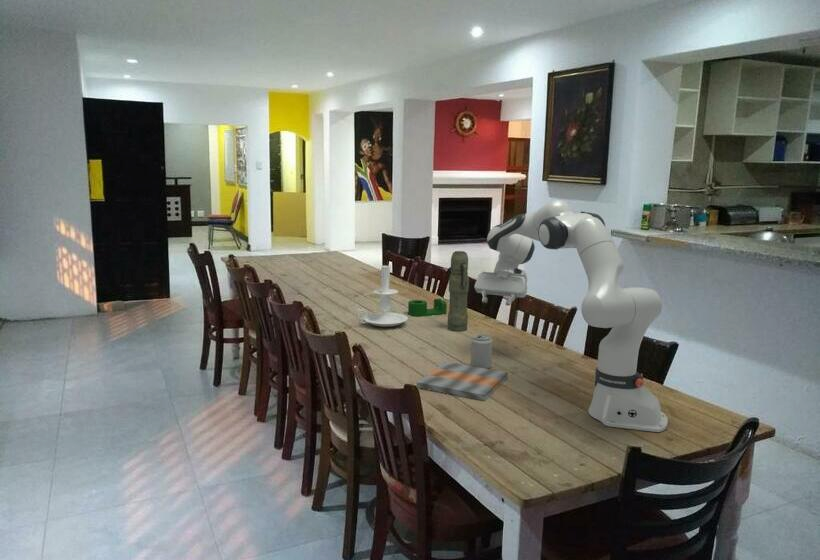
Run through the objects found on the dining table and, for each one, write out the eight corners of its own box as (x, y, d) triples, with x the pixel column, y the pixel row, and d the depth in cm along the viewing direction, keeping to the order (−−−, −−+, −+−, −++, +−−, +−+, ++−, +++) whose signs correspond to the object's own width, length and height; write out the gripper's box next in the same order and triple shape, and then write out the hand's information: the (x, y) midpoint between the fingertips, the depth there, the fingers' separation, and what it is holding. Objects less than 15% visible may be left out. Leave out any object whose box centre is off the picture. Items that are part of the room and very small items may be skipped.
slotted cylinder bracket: (412, 317, 297) (412, 304, 296) (405, 313, 305) (405, 300, 304) (446, 314, 304) (446, 302, 303) (438, 310, 312) (438, 298, 311)
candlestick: (347, 322, 286) (347, 263, 280) (394, 316, 298) (395, 259, 292) (366, 334, 268) (366, 270, 263) (415, 327, 280) (416, 266, 275)
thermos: (458, 324, 286) (460, 249, 279) (472, 330, 276) (475, 253, 269) (442, 326, 282) (444, 250, 275) (456, 333, 271) (458, 254, 264)
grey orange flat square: (507, 377, 218) (507, 372, 217) (484, 401, 197) (484, 395, 196) (444, 366, 228) (444, 361, 228) (416, 387, 207) (416, 382, 206)
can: (479, 362, 233) (480, 331, 231) (495, 367, 228) (496, 336, 226) (466, 367, 228) (467, 335, 226) (482, 372, 223) (483, 340, 221)
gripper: (478, 266, 245) (468, 295, 238) (528, 271, 236) (520, 301, 229) (481, 276, 249) (472, 304, 243) (531, 281, 241) (522, 310, 234)
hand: (495, 303), depth 236 cm, fingers open, 8 cm apart
